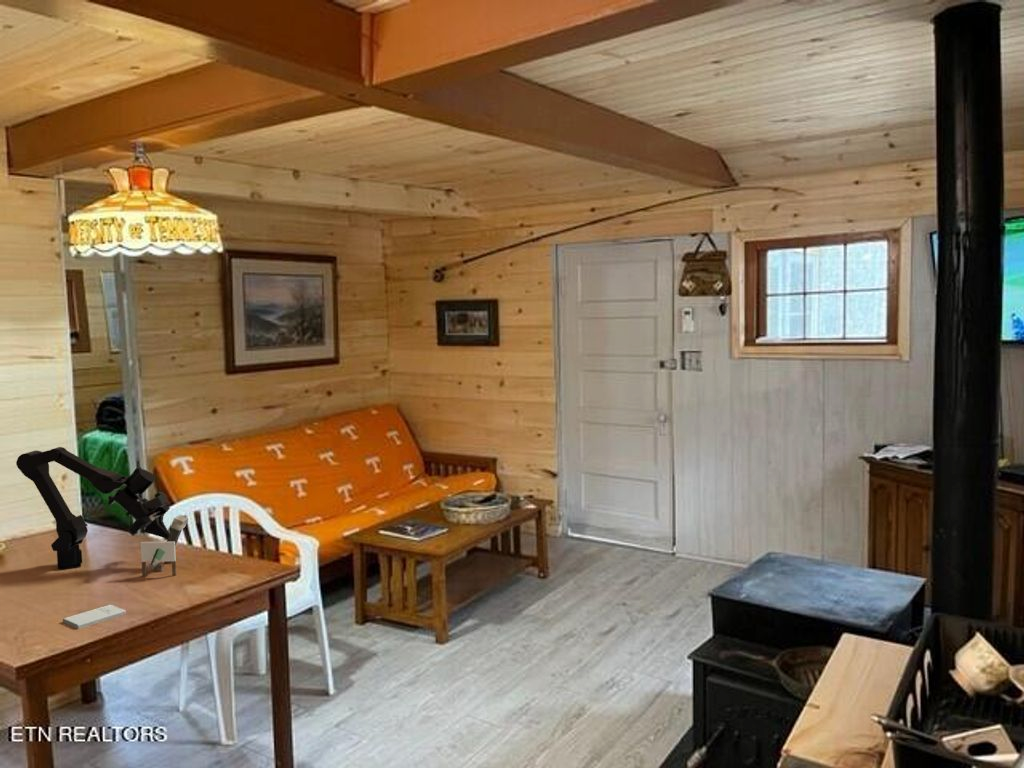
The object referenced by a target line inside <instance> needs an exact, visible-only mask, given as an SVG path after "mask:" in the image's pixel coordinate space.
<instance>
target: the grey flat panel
mask: <svg viewBox="0 0 1024 768" xmlns="http://www.w3.org/2000/svg"><path fill="white" fill-rule="evenodd" d="M157 549H158V551H157V554H156V556H155V559H154V561H153V562H160V563H164V561H176V546H175V542H167V541H141V542H140V557H141V559H140V560H141V563H142V562H146V563H148V562H149V563H151V562H152V560H153V557H154V555H155V552H156V550H157Z"/></svg>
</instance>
